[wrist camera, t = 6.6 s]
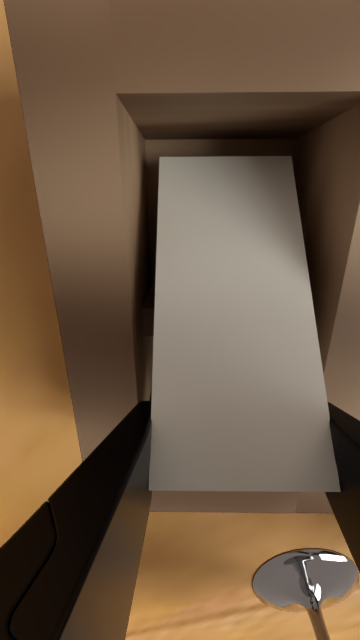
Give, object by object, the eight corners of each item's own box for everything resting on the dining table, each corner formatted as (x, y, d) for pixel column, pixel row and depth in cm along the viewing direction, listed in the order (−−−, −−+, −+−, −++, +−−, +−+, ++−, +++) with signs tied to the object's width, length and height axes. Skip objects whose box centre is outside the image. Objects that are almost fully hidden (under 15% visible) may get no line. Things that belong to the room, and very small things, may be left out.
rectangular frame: (298, 415, 15) (350, 513, 10) (119, 414, 15) (90, 511, 10) (356, 91, 10) (512, -7, 5) (87, 93, 10) (3, -1, 5)
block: (303, 474, 8) (340, 491, 6) (156, 473, 8) (148, 490, 6) (272, 201, 11) (291, 155, 9) (163, 202, 11) (159, 157, 9)
